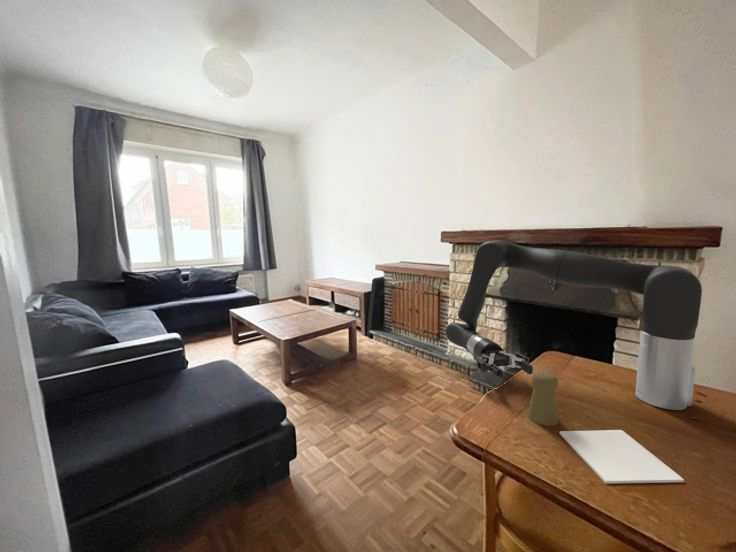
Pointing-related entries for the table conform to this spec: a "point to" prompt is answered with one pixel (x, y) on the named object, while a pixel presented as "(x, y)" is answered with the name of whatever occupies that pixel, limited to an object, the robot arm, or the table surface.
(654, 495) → the table surface
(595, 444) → the white mat
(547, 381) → the cork
